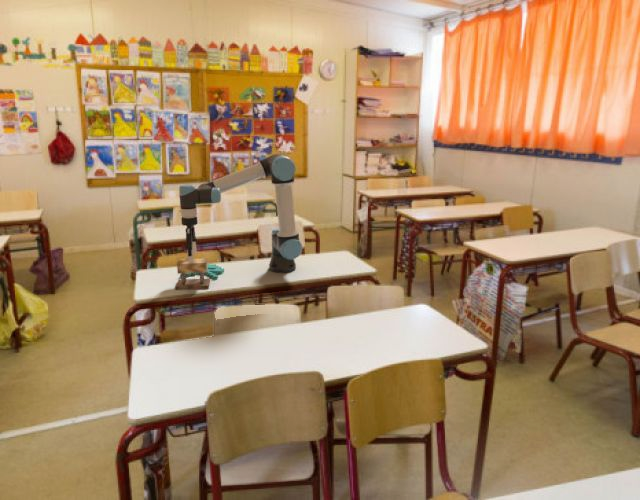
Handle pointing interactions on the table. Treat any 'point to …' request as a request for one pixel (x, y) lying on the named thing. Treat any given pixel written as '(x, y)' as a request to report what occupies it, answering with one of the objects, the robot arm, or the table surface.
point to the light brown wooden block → (192, 266)
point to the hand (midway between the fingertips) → (192, 258)
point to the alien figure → (209, 271)
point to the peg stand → (192, 283)
